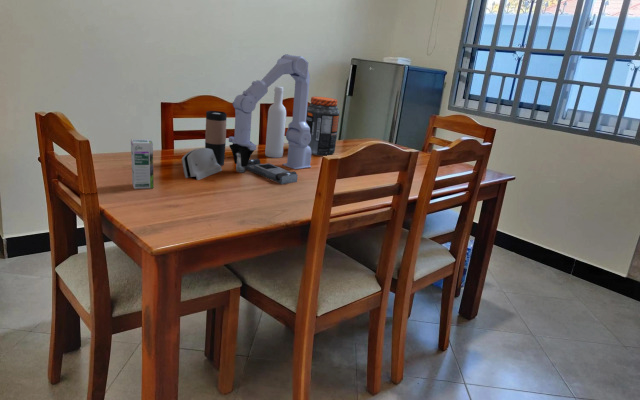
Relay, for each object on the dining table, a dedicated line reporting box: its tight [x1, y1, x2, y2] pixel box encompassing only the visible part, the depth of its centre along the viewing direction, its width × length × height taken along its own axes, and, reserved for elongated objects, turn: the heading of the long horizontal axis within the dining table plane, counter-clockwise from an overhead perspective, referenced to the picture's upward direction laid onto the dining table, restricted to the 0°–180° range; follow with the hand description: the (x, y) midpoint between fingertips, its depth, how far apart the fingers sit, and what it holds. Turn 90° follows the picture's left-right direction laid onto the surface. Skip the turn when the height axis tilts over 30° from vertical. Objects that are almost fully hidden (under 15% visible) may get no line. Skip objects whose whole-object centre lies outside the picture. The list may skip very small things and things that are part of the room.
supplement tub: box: [306, 96, 340, 157], centre depth 207 cm, size 16×16×26 cm
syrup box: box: [130, 138, 155, 190], centre depth 134 cm, size 6×6×14 cm
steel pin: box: [235, 152, 246, 173], centre depth 163 cm, size 4×4×7 cm
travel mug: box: [204, 110, 228, 167], centre depth 167 cm, size 8×8×20 cm
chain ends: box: [245, 158, 299, 185], centre depth 165 cm, size 8×26×3 cm, turn 45°
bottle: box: [264, 86, 287, 159], centre depth 190 cm, size 8×8×30 cm
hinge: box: [181, 147, 223, 181], centre depth 155 cm, size 17×5×10 cm, turn 163°
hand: (240, 164), depth 163 cm, fingers closed on steel pin, 4 cm apart
